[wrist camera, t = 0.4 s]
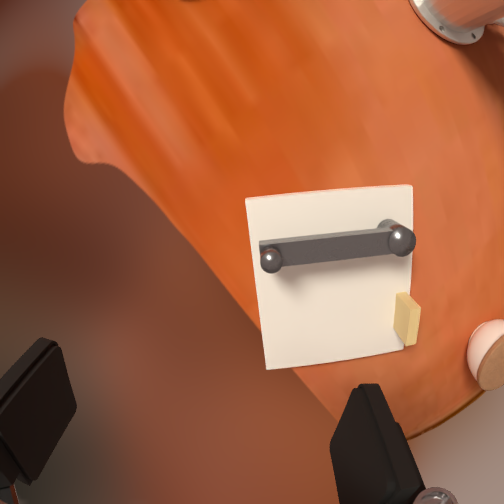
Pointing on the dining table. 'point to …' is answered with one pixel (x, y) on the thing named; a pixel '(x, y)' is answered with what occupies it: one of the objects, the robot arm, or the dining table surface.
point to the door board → (333, 279)
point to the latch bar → (336, 246)
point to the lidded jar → (487, 354)
